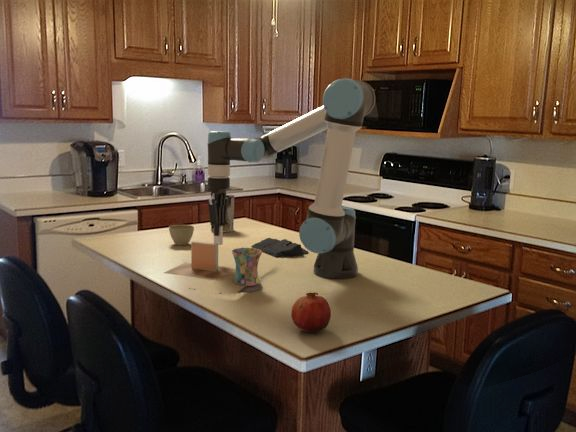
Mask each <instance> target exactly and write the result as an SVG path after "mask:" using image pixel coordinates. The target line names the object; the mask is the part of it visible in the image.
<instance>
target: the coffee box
mask: <svg viewBox="0 0 576 432" xmlns="http://www.w3.org/2000/svg"><path fill="white" fill-rule="evenodd" d="M228 195H229V201H228V208H227V217H226V222H225V224H226V225H225V226H224V225H223V231H226V232H225V233H231V232H233V231H234V230H233V229H234V225H235V223H234V220H235V219H234V217H235V216H234V215H235V195H234V194H233V195H232V194H228ZM211 230H212V231H211ZM210 231H211V232H214V226H211V225H210ZM230 231H231V232H230Z"/></svg>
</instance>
